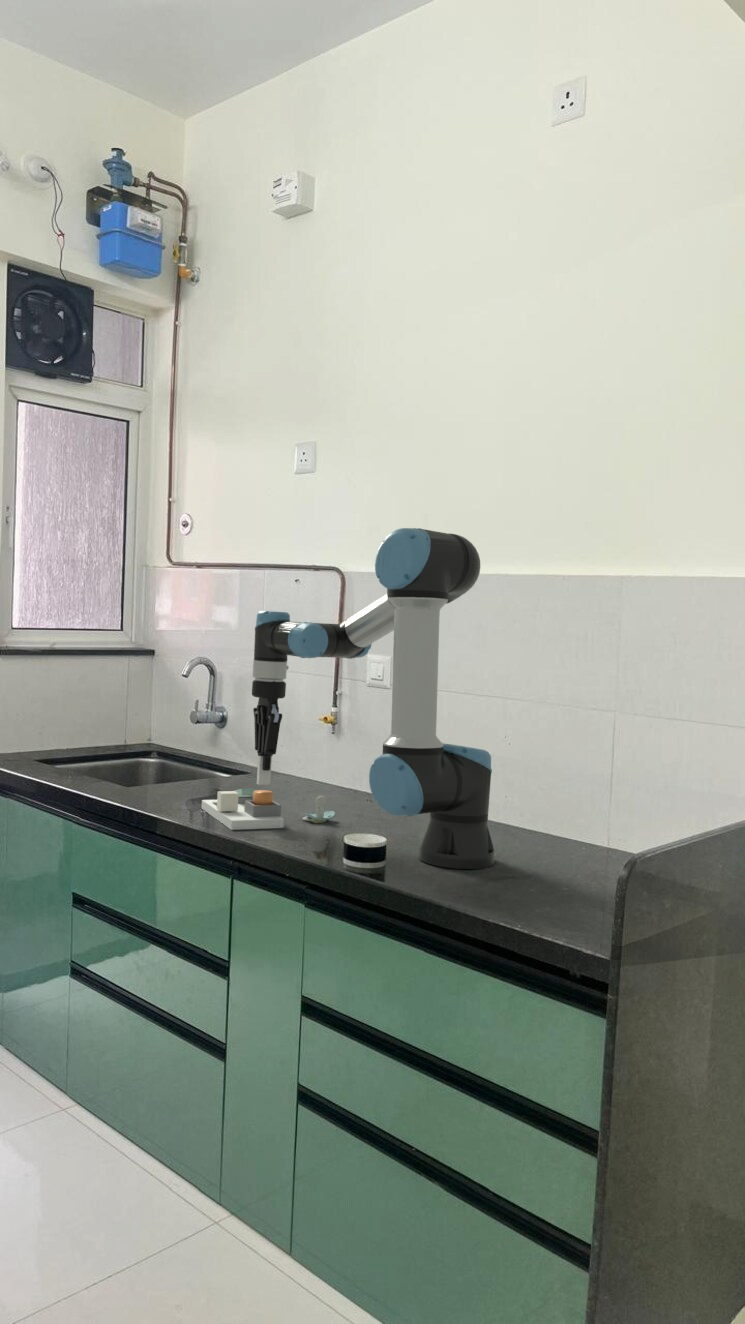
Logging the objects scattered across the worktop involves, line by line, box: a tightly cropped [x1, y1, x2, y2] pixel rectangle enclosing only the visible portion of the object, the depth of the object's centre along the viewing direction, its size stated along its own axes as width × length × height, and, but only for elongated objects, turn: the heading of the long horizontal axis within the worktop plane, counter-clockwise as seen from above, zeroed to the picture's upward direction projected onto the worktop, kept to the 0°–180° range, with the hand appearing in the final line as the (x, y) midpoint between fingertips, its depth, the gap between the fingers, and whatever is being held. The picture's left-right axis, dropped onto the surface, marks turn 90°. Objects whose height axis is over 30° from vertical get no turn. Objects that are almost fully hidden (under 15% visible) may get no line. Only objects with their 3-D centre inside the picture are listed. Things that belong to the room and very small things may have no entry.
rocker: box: [234, 787, 257, 797], centre depth 239 cm, size 6×4×1 cm, turn 25°
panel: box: [201, 796, 285, 831], centre depth 232 cm, size 24×12×4 cm, turn 25°
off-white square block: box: [216, 790, 239, 812], centre depth 228 cm, size 3×4×4 cm
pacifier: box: [302, 795, 336, 824], centre depth 234 cm, size 7×6×6 cm
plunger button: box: [252, 789, 274, 805], centre depth 228 cm, size 4×4×3 cm
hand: (263, 783), depth 228 cm, fingers closed
